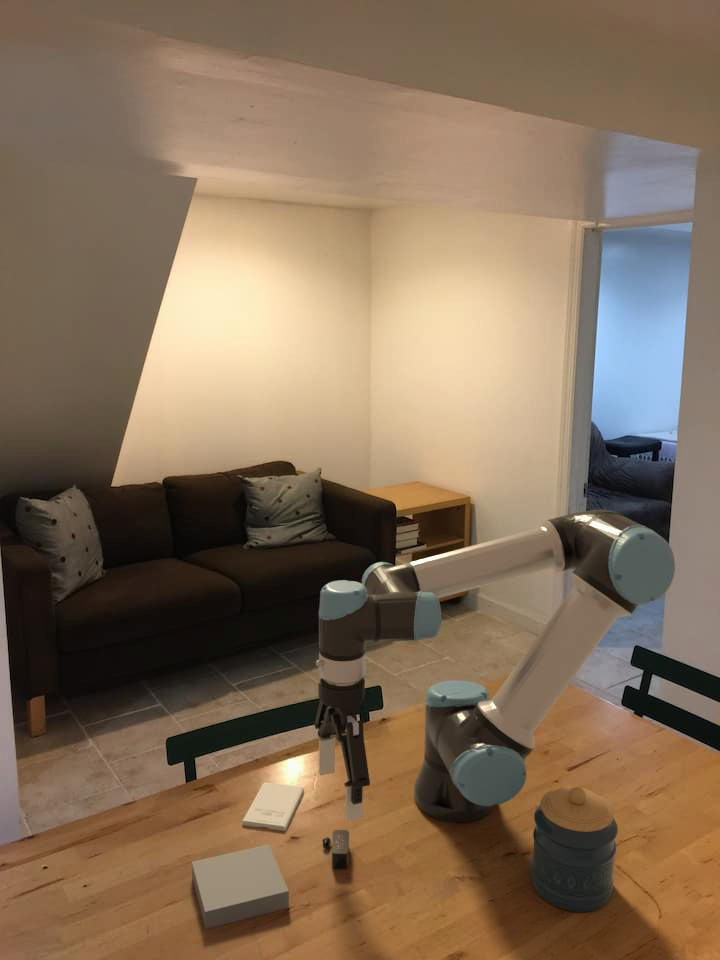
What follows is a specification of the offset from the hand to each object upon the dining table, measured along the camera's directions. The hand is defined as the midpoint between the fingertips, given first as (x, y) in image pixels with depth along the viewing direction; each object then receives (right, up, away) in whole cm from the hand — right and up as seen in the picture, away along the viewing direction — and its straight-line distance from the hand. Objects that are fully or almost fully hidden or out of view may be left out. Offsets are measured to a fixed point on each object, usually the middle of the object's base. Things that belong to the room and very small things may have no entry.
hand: (339, 794), depth 137 cm
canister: (+38, -14, -3) cm, 40 cm away
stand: (-16, -14, -5) cm, 22 cm away
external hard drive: (-13, -10, +17) cm, 23 cm away
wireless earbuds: (-1, -12, +4) cm, 13 cm away
